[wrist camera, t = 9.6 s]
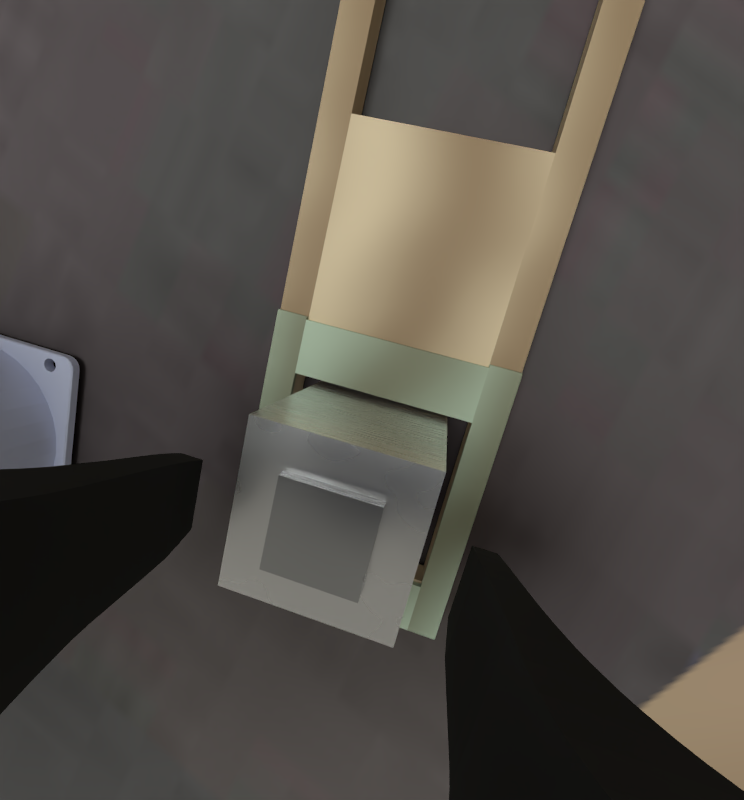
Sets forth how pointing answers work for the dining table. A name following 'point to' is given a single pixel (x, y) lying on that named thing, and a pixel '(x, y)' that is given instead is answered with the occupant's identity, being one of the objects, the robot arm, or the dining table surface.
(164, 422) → the dining table surface
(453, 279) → the wooden peg board
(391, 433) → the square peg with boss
